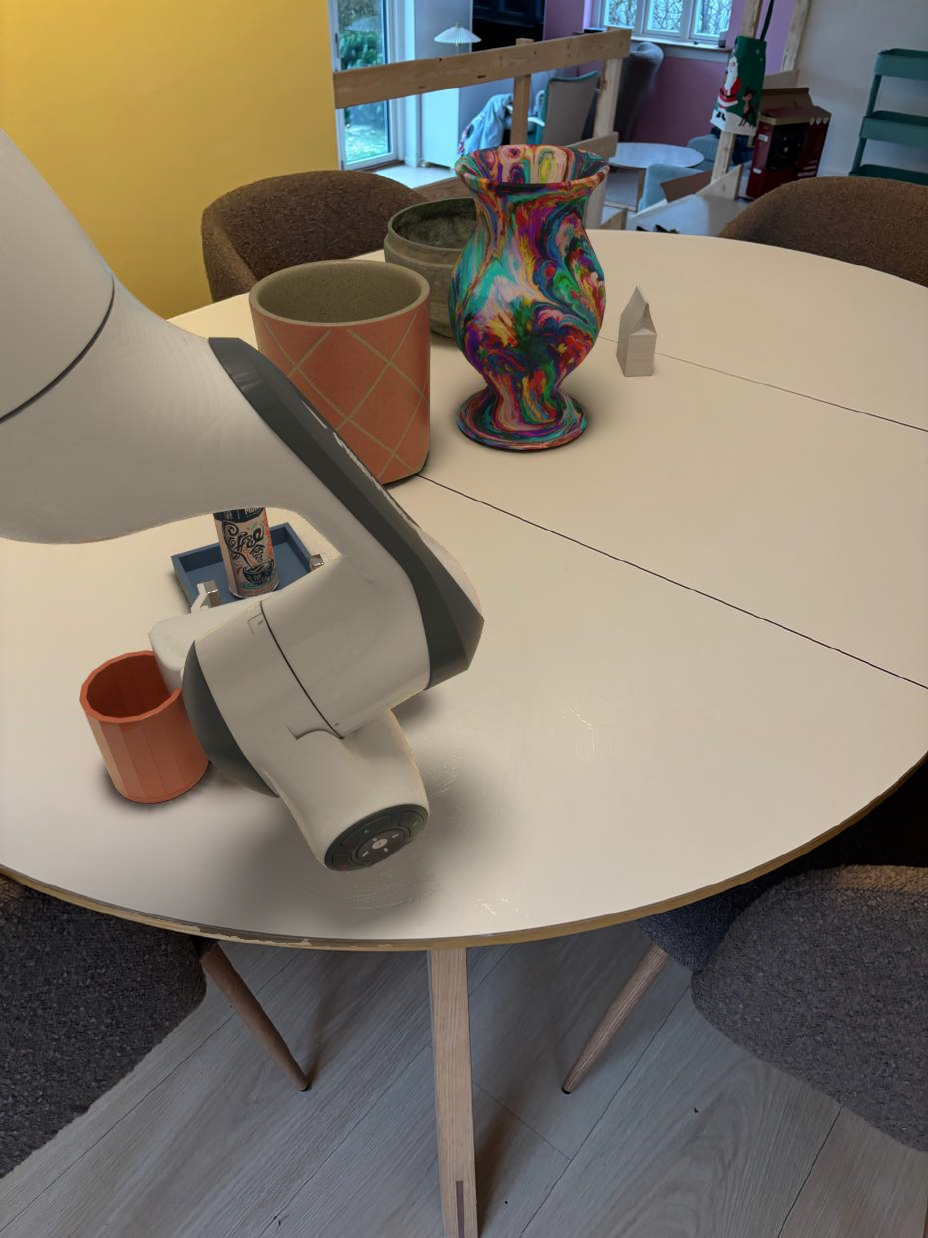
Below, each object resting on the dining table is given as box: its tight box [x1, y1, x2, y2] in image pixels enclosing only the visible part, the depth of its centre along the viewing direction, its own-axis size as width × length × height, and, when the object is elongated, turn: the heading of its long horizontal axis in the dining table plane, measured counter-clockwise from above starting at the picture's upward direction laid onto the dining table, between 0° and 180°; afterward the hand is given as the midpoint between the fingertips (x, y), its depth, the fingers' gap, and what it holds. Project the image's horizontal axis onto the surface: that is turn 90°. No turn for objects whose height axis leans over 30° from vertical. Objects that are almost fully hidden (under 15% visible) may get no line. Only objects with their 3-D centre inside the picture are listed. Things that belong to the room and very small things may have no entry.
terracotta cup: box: [78, 649, 210, 804], centre depth 68 cm, size 7×7×9 cm
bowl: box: [383, 196, 476, 339], centre depth 133 cm, size 32×26×15 cm
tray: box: [170, 521, 312, 608], centre depth 87 cm, size 12×12×2 cm
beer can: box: [212, 507, 279, 599], centre depth 83 cm, size 5×5×12 cm
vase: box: [447, 143, 611, 450], centre depth 104 cm, size 18×18×30 cm
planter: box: [248, 258, 431, 485], centre depth 101 cm, size 19×19×20 cm
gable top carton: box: [615, 285, 658, 378], centre depth 122 cm, size 4×7×10 cm, turn 2°
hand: (262, 574), depth 75 cm, fingers open, 8 cm apart
